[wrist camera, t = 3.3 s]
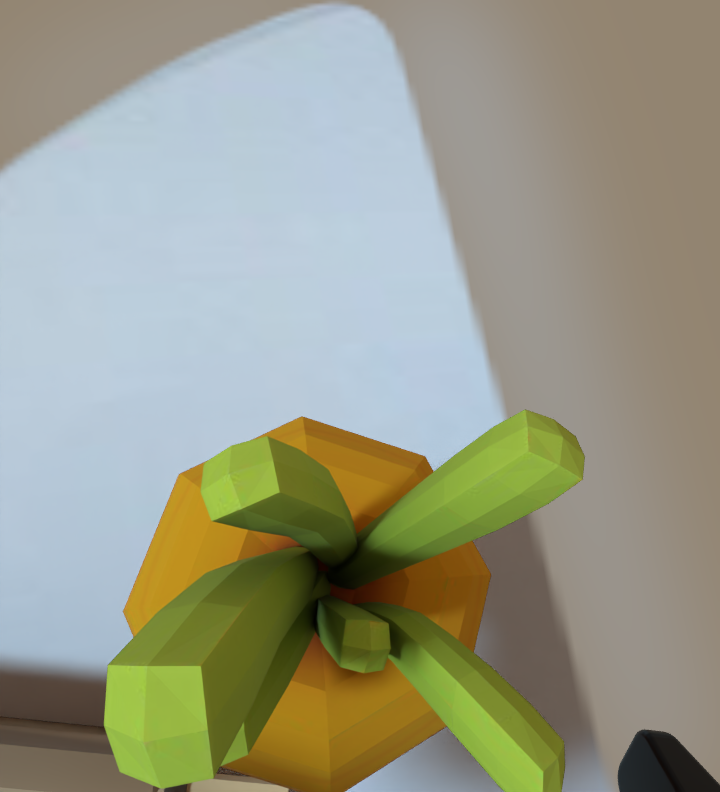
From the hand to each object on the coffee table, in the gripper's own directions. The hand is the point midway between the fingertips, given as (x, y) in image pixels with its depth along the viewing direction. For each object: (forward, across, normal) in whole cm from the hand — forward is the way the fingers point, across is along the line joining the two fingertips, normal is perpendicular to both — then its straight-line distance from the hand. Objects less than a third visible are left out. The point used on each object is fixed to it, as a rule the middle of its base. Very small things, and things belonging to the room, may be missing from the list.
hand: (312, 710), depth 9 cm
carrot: (+8, 0, +6) cm, 10 cm away
